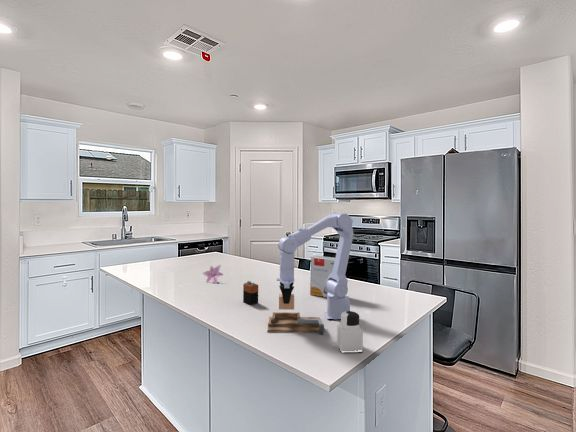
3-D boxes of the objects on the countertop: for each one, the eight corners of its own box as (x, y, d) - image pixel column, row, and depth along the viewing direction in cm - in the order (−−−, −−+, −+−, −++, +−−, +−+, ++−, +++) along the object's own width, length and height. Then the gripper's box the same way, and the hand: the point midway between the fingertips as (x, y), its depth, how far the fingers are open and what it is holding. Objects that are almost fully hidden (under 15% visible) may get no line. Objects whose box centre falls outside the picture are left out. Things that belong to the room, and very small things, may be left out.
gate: (321, 326, 127) (321, 318, 127) (324, 334, 119) (324, 325, 119) (297, 325, 127) (297, 317, 127) (298, 334, 119) (298, 325, 119)
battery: (250, 300, 160) (250, 280, 160) (258, 303, 155) (258, 282, 155) (242, 302, 157) (242, 281, 157) (251, 305, 152) (251, 284, 152)
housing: (319, 319, 135) (319, 312, 135) (323, 332, 121) (323, 324, 121) (269, 318, 135) (269, 311, 135) (267, 331, 121) (267, 324, 121)
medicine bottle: (357, 343, 112) (358, 309, 112) (362, 353, 105) (363, 316, 104) (336, 343, 112) (337, 309, 111) (340, 353, 105) (341, 316, 104)
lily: (201, 282, 199) (198, 270, 194) (216, 272, 206) (214, 260, 201) (213, 291, 192) (211, 279, 187) (228, 280, 200) (227, 268, 195)
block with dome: (293, 306, 132) (293, 292, 132) (294, 309, 128) (294, 295, 128) (279, 306, 132) (279, 292, 132) (278, 309, 128) (278, 295, 128)
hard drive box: (309, 295, 171) (310, 257, 170) (315, 291, 177) (315, 255, 177) (337, 299, 163) (338, 260, 163) (342, 295, 170) (343, 257, 169)
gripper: (277, 264, 136) (276, 296, 137) (276, 271, 122) (275, 307, 123) (294, 264, 137) (293, 296, 137) (295, 271, 122) (294, 307, 123)
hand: (286, 301), depth 130 cm, fingers closed on block with dome, 4 cm apart
